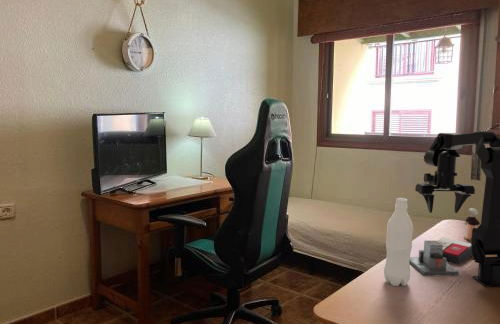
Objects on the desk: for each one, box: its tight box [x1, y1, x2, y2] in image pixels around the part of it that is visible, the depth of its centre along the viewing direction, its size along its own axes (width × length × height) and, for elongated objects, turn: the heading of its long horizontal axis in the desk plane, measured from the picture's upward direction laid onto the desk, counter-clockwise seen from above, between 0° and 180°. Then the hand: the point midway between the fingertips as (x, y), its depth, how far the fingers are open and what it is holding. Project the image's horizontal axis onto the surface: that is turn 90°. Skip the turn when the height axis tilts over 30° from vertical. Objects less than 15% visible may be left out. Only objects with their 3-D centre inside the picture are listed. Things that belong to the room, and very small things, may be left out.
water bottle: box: [383, 197, 414, 287], centre depth 118 cm, size 7×7×25 cm
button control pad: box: [437, 237, 473, 266], centre depth 143 cm, size 11×4×15 cm
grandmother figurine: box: [463, 207, 481, 242], centre depth 159 cm, size 8×4×13 cm, turn 25°
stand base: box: [409, 249, 460, 276], centre depth 131 cm, size 12×11×5 cm
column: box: [423, 240, 443, 266], centre depth 130 cm, size 4×4×7 cm
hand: (443, 212), depth 145 cm, fingers open, 9 cm apart
